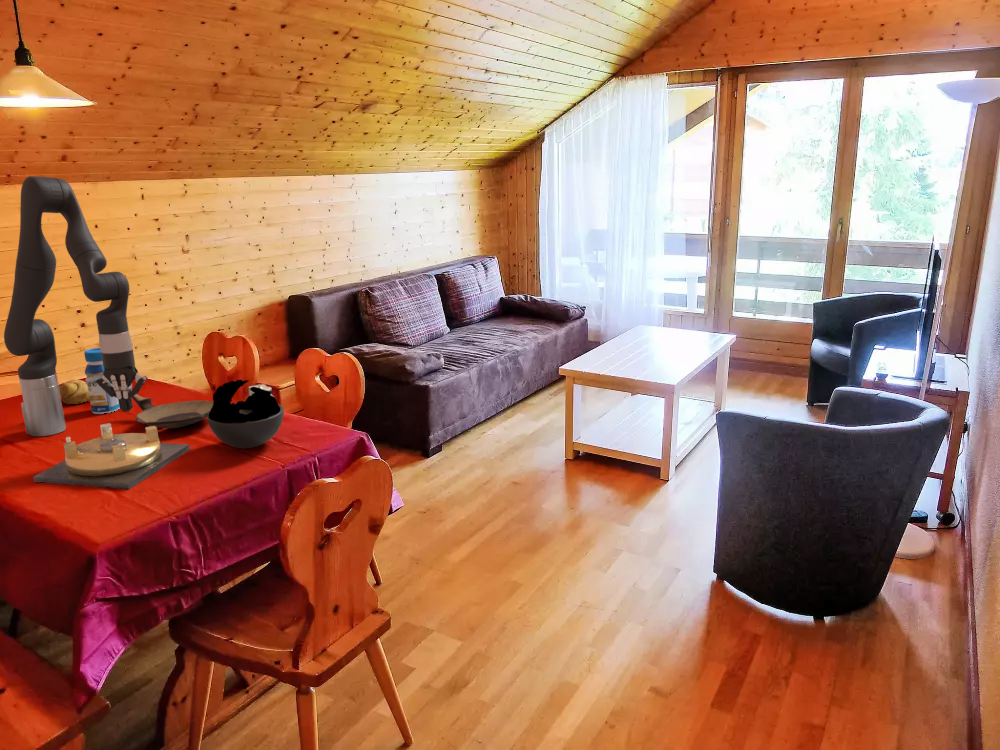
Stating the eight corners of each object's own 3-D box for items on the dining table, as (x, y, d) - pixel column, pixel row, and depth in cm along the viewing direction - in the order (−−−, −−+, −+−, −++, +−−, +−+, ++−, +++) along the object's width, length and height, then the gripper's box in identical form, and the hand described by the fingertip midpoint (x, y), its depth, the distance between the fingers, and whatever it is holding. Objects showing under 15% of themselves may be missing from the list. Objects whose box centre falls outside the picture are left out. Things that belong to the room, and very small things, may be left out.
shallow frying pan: (157, 444, 206) (153, 419, 204) (120, 420, 226) (116, 396, 224) (233, 425, 221) (230, 401, 219) (192, 403, 241) (189, 381, 239)
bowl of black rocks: (211, 438, 210) (203, 375, 205) (283, 429, 217) (278, 368, 211) (210, 464, 192) (202, 395, 187) (289, 453, 198) (283, 387, 193)
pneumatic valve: (260, 429, 217) (256, 391, 214) (250, 418, 226) (246, 381, 223) (279, 426, 220) (275, 387, 216) (268, 415, 229) (264, 378, 226)
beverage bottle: (123, 411, 234) (114, 350, 229) (94, 416, 229) (84, 354, 224) (116, 404, 241) (107, 345, 235) (88, 410, 235) (78, 349, 230)
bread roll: (61, 397, 249) (57, 375, 246) (94, 393, 253) (90, 371, 251) (60, 408, 238) (56, 384, 235) (94, 403, 242) (90, 380, 240)
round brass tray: (169, 462, 189) (166, 438, 187) (72, 483, 176) (67, 458, 175) (151, 437, 206) (148, 415, 204) (62, 455, 194) (57, 432, 192)
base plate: (34, 482, 181) (28, 454, 179) (105, 444, 206) (101, 419, 204) (129, 489, 177) (124, 460, 175) (190, 449, 202) (186, 423, 200)
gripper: (83, 352, 189) (95, 416, 194) (136, 351, 190) (146, 414, 194) (97, 346, 196) (108, 407, 201) (148, 344, 197) (157, 405, 202)
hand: (127, 410), depth 198 cm, fingers closed
